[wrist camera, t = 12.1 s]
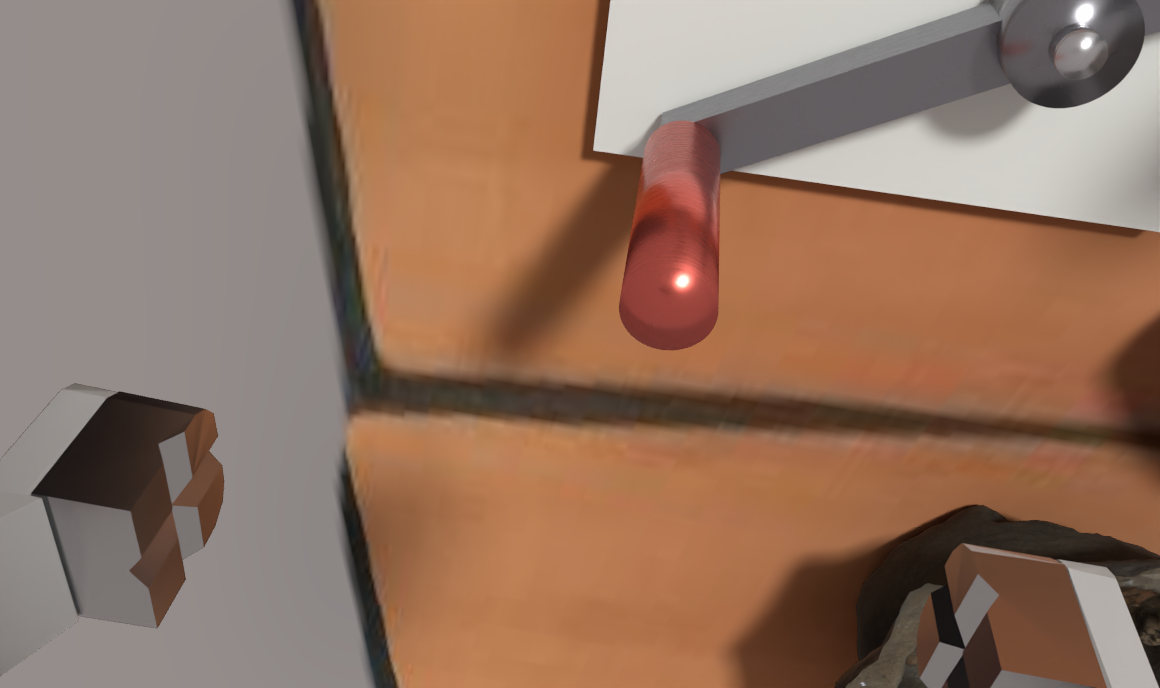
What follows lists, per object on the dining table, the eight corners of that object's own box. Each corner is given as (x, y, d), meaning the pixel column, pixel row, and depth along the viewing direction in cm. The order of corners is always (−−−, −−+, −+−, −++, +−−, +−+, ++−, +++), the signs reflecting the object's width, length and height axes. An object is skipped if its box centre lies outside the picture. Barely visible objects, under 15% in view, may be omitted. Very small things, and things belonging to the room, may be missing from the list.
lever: (1227, -109, 33) (1460, 9, 23) (1234, 14, 36) (1449, 175, 25) (631, 98, 40) (595, 263, 30) (667, 191, 42) (647, 377, 32)
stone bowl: (779, 469, 52) (804, 605, 45) (1297, 406, 48) (1421, 543, 41) (814, 751, 65) (838, 893, 58) (1223, 719, 62) (1306, 867, 54)
